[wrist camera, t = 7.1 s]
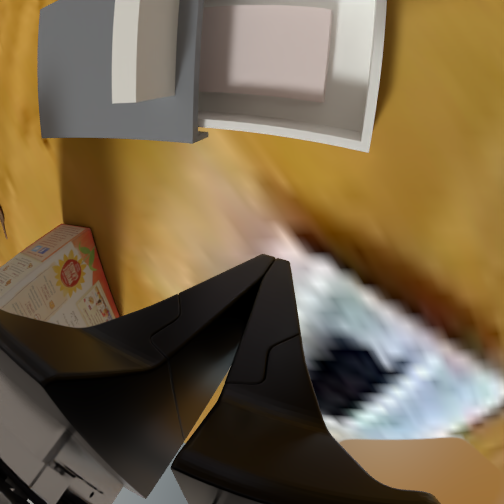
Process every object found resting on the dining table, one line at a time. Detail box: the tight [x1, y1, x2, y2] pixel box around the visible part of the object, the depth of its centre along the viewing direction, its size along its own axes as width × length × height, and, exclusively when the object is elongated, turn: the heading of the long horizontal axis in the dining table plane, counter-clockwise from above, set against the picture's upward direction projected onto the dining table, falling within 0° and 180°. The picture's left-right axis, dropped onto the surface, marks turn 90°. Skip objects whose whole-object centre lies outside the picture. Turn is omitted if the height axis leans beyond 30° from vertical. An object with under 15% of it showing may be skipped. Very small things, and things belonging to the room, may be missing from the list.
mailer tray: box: [198, 0, 387, 153], centre depth 15 cm, size 14×10×4 cm
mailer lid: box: [38, 0, 208, 143], centre depth 15 cm, size 15×12×6 cm
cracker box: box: [0, 224, 120, 328], centre depth 26 cm, size 14×6×21 cm, turn 2°
